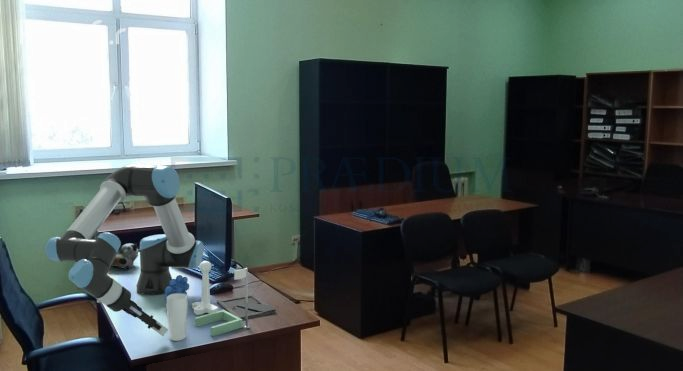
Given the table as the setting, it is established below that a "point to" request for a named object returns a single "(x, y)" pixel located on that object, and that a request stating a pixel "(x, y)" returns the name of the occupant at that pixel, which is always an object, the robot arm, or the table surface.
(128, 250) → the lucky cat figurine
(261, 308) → the picture frame
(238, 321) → the green u-shaped piece
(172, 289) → the grapes
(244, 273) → the flag post
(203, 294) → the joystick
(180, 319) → the drinking glass
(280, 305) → the table surface
